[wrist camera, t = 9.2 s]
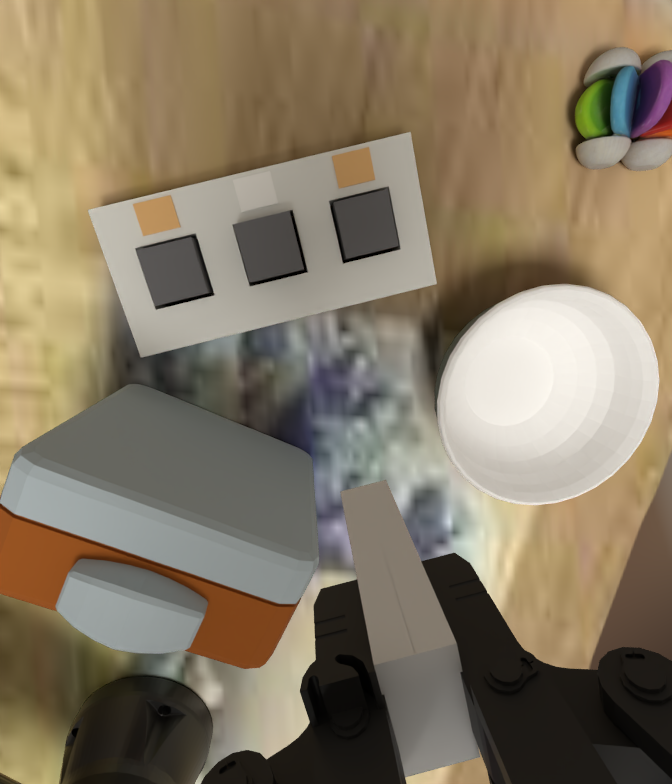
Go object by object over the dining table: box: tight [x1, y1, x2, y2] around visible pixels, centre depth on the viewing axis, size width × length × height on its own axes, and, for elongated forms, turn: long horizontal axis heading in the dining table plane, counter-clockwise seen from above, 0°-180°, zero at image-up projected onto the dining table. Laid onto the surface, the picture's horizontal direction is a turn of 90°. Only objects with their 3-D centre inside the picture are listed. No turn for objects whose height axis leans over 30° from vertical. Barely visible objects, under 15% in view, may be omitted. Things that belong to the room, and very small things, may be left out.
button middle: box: [233, 211, 304, 282], centre depth 36 cm, size 4×4×3 cm
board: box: [88, 132, 437, 358], centre depth 37 cm, size 26×12×3 cm, turn 103°
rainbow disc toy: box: [575, 47, 672, 171], centre depth 35 cm, size 8×10×7 cm
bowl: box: [435, 284, 659, 505], centre depth 40 cm, size 19×19×8 cm
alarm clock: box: [0, 384, 319, 669], centre depth 33 cm, size 18×9×21 cm, turn 65°
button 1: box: [331, 189, 399, 260], centre depth 37 cm, size 4×4×3 cm
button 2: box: [136, 237, 213, 306], centre depth 37 cm, size 4×4×3 cm
